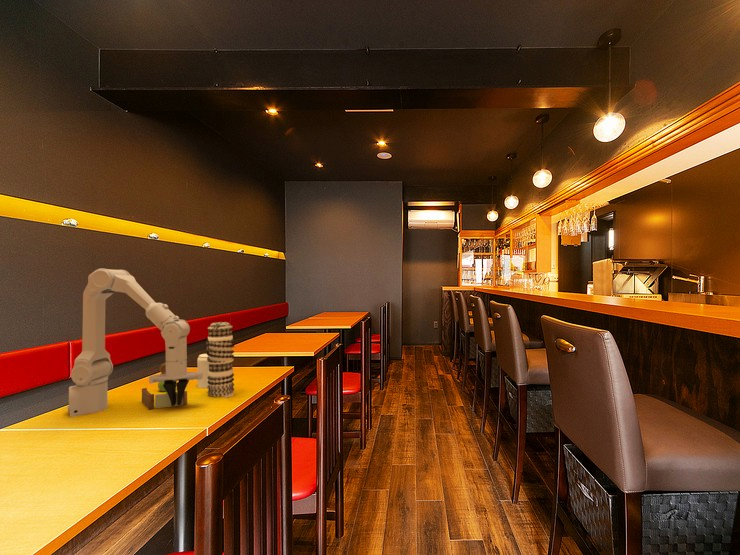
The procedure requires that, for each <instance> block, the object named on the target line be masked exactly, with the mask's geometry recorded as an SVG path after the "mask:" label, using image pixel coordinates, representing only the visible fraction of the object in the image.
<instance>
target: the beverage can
mask: <svg viewBox="0 0 740 555" xmlns="http://www.w3.org/2000/svg"><path fill="white" fill-rule="evenodd" d="M208 357H209V356H208V355H207V354H206V353H202V354H199V355H198V357H197V361H196V362H197V366H196V367H197V372H203V378H202V379H201V380H198V379H197V388H198V389H199V388H200V389H207V387H208V385H209V384H208V383H207V382H208V380H209V379H208V378H207V377H208V376H209V375H208V371H209V363H207V361H208V360H207V358H208Z"/></svg>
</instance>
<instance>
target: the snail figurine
mask: <svg viewBox="0 0 740 555" xmlns="http://www.w3.org/2000/svg"><path fill="white" fill-rule="evenodd" d="M159 372H160V373H159V375H161V374H166V362H164V363H162V364H161V365H160V366H159ZM157 383H158V384H157V387H158V390H159V391H160V392H163V393H167V392H166V390H165V389H164V387H163V384H164V382H157Z"/></svg>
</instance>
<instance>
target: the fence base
mask: <svg viewBox="0 0 740 555" xmlns="http://www.w3.org/2000/svg"><path fill="white" fill-rule="evenodd" d="M141 403H143V405H144V406H146V408H147V410H154V409H155V394H154V393H151V392H150V391H148V388H147V387H142V388H141Z"/></svg>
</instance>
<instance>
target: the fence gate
mask: <svg viewBox="0 0 740 555" xmlns="http://www.w3.org/2000/svg"><path fill="white" fill-rule="evenodd" d="M187 405H188V390H185V391H184V394H183V398H182V403H181V405H177V391H176V404H175V405H174V406H173V407H178V406H187ZM169 407H172V406H171V401H170V398H169V395H168V393H167V392H163V393H158V394H154V409H162V408H163V409H164V408H169Z"/></svg>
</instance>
